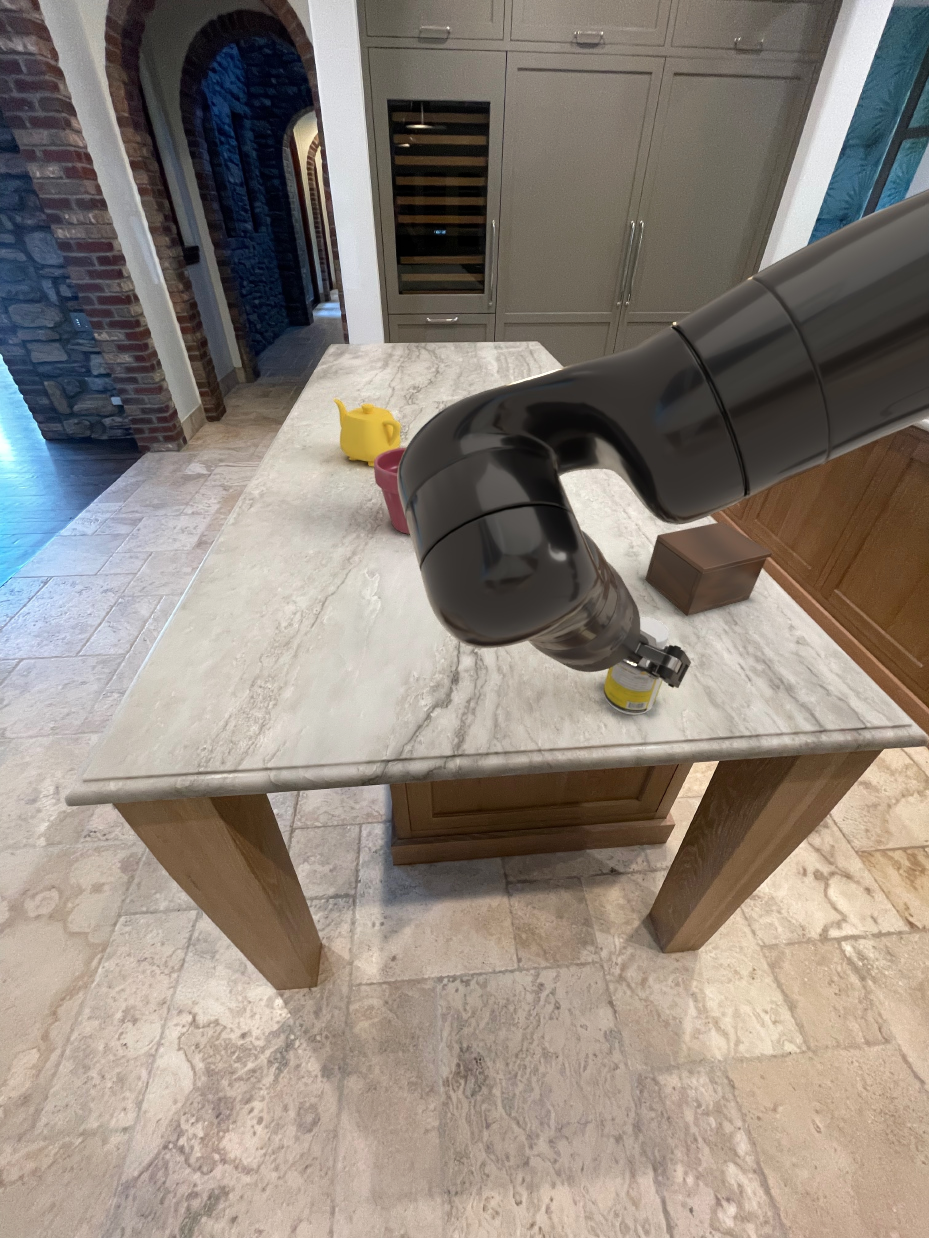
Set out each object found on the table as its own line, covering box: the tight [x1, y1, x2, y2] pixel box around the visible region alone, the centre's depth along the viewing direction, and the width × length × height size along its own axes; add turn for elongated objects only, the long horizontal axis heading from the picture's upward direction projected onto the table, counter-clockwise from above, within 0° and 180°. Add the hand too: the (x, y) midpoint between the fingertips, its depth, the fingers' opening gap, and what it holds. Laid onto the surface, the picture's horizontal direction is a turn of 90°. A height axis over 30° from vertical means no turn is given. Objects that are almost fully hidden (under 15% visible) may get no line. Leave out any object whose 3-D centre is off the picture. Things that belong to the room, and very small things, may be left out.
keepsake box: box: [644, 539, 767, 617], centre depth 86 cm, size 13×11×8 cm
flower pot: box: [373, 446, 410, 535], centre depth 101 cm, size 14×14×13 cm
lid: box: [656, 521, 773, 573], centre depth 84 cm, size 13×11×1 cm
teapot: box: [333, 398, 402, 467], centre depth 127 cm, size 13×20×12 cm
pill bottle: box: [603, 616, 670, 715], centre depth 65 cm, size 6×6×12 cm
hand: (615, 649), depth 52 cm, fingers open, 8 cm apart
